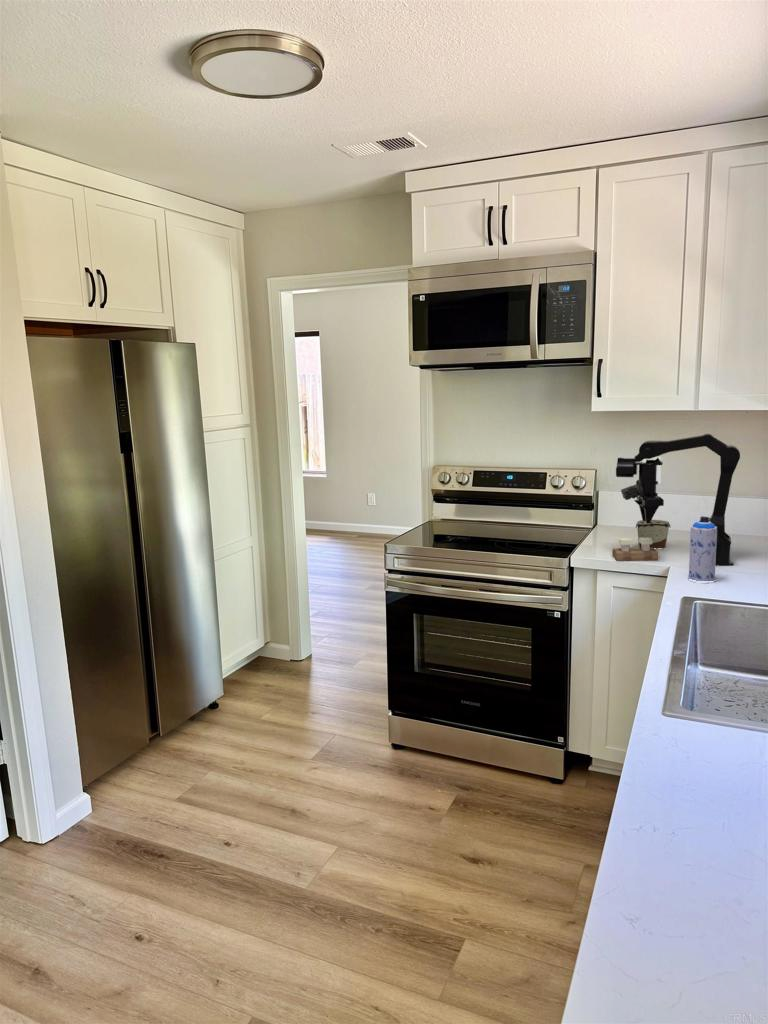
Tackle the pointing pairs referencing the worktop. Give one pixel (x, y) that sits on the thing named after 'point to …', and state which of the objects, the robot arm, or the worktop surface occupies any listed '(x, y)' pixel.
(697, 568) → the aerosol can
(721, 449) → the robot arm
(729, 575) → the worktop surface
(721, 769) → the worktop surface
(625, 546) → the plunger
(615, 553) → the bar
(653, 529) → the food container
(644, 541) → the plunger
